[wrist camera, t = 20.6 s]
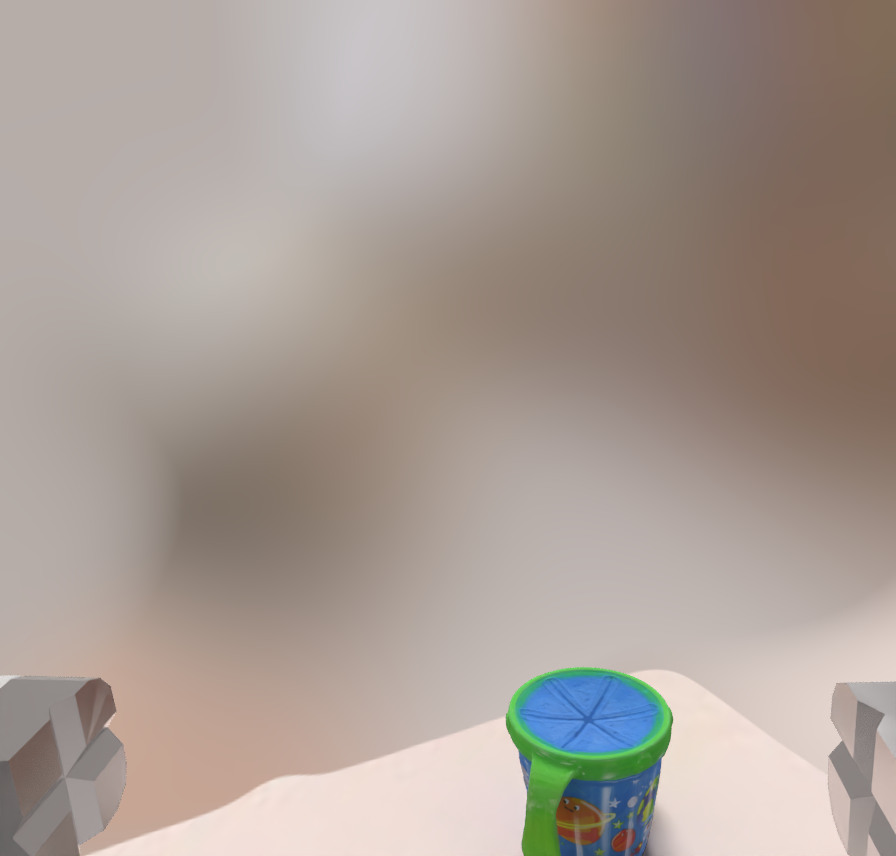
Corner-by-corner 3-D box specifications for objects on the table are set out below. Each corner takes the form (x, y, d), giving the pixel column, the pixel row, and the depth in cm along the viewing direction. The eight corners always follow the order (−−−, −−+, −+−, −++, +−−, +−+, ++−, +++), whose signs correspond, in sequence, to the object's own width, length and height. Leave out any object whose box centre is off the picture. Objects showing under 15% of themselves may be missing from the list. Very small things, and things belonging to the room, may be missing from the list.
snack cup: (580, 749, 64) (576, 635, 61) (709, 801, 57) (711, 675, 55) (461, 878, 52) (451, 743, 50) (607, 961, 46) (604, 811, 43)
